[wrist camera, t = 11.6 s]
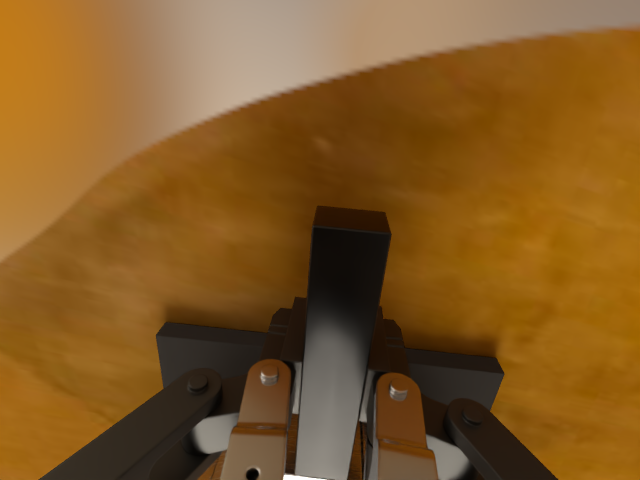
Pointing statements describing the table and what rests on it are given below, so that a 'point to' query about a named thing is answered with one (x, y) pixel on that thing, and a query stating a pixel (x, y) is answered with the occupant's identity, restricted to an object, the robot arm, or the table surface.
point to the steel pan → (335, 345)
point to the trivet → (245, 346)
